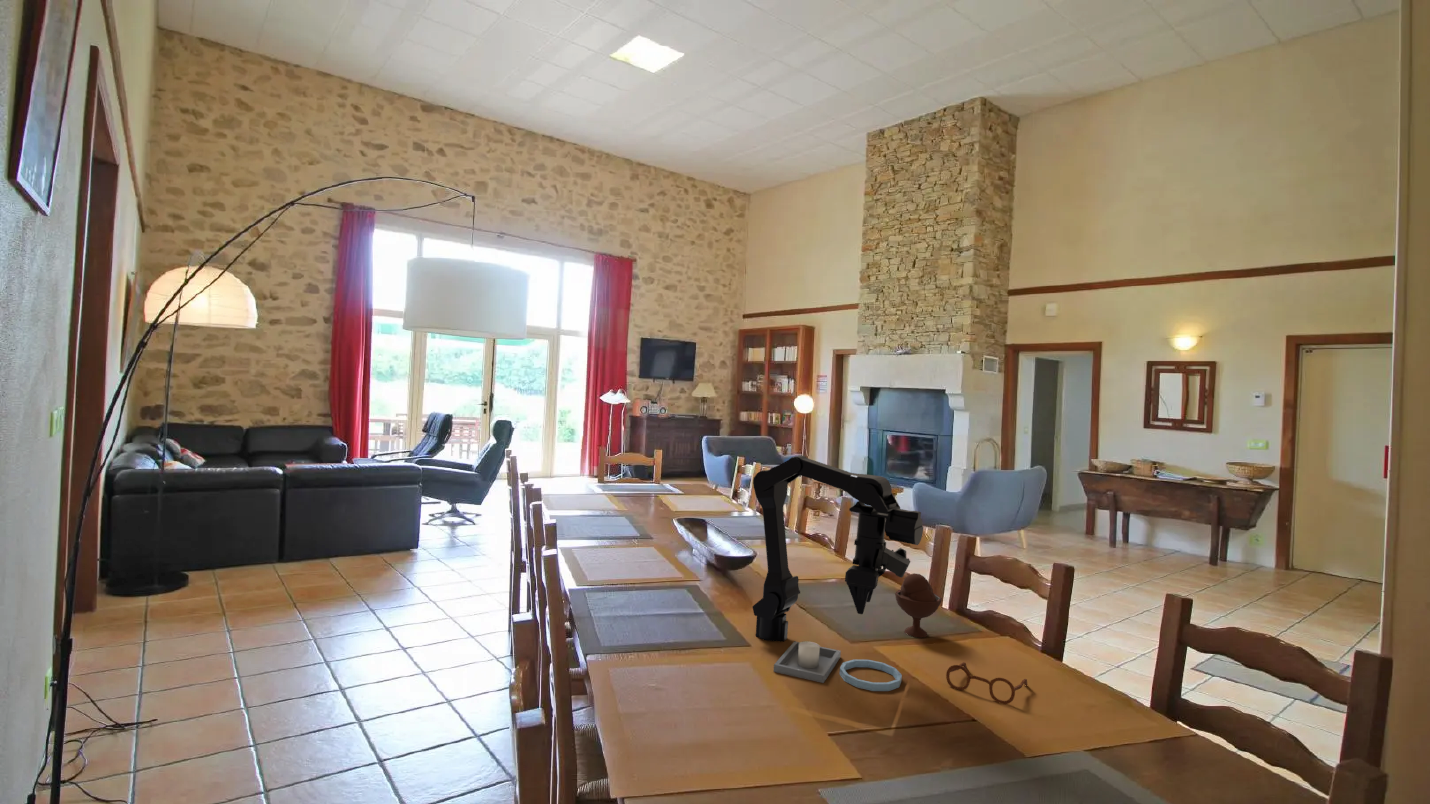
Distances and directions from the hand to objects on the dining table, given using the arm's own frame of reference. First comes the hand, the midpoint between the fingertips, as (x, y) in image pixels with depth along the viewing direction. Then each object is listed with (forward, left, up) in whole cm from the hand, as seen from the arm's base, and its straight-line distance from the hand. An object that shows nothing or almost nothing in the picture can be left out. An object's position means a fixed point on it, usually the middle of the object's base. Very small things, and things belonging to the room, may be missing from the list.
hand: (863, 607), depth 146 cm
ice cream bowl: (+8, +28, -13) cm, 32 cm away
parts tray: (-10, -7, -13) cm, 17 cm away
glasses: (+25, +4, -13) cm, 29 cm away
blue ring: (+3, -7, -13) cm, 15 cm away
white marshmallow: (-10, -7, -12) cm, 17 cm away
